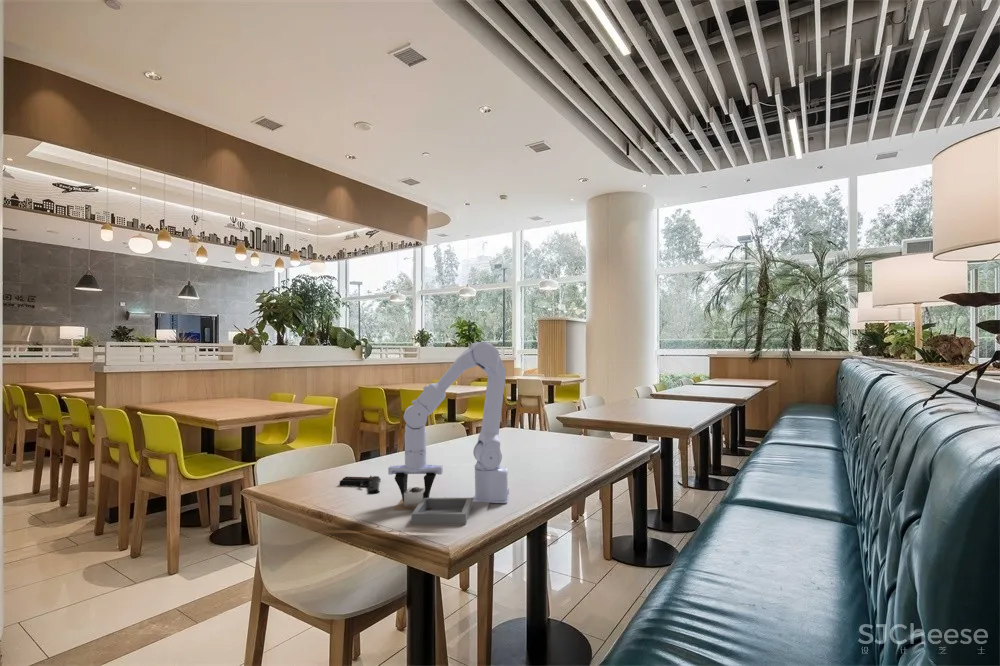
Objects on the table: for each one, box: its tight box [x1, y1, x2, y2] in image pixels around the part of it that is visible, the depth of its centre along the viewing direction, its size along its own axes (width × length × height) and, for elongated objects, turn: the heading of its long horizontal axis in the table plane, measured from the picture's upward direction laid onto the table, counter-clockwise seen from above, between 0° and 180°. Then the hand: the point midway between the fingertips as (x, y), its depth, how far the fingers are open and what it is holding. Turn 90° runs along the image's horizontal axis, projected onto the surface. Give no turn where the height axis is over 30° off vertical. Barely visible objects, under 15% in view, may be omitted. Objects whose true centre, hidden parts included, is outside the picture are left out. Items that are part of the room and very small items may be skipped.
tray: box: [411, 497, 473, 526], centre depth 124 cm, size 13×13×3 cm
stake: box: [392, 486, 431, 511], centre depth 134 cm, size 10×10×5 cm
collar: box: [404, 487, 425, 507], centre depth 134 cm, size 5×5×4 cm
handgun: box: [339, 475, 381, 495], centre depth 152 cm, size 2×18×12 cm
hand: (416, 500), depth 134 cm, fingers closed on collar, 5 cm apart
